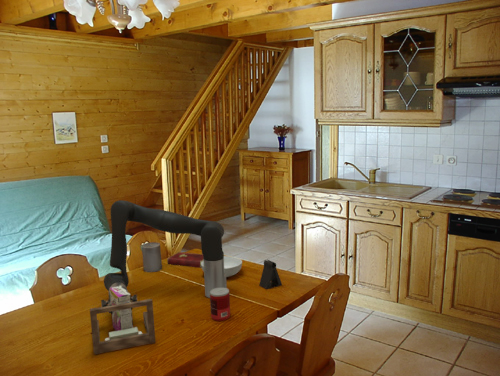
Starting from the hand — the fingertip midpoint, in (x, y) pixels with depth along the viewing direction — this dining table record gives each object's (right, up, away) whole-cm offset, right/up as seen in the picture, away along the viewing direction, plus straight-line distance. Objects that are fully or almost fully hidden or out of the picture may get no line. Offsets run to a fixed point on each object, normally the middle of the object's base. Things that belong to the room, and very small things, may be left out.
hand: (120, 310), depth 168 cm
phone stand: (+59, 0, +43) cm, 73 cm away
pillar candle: (-4, +2, +72) cm, 72 cm away
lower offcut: (+3, -11, -6) cm, 12 cm away
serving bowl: (+35, +1, +60) cm, 69 cm away
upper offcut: (+3, -8, -6) cm, 11 cm away
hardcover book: (+15, +4, +81) cm, 83 cm away
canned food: (+37, -6, +12) cm, 39 cm away
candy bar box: (0, -9, +2) cm, 9 cm away
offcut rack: (+1, -9, -1) cm, 10 cm away
